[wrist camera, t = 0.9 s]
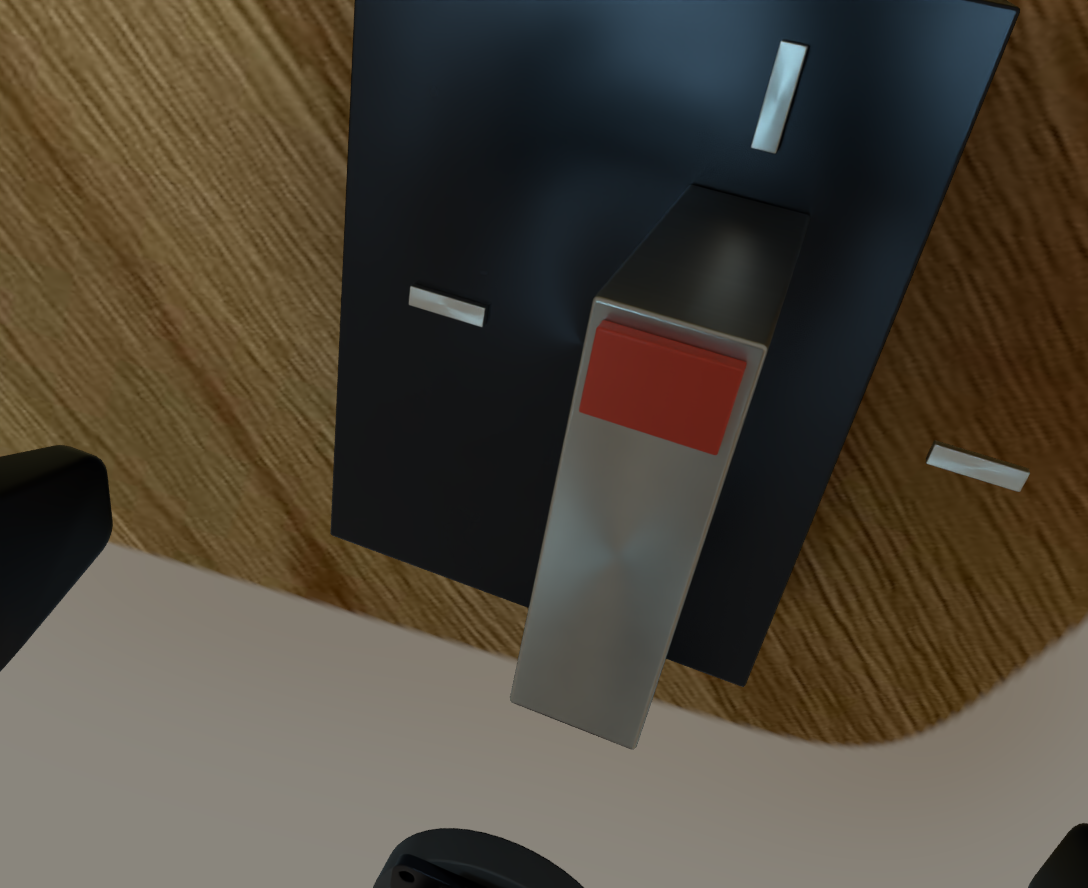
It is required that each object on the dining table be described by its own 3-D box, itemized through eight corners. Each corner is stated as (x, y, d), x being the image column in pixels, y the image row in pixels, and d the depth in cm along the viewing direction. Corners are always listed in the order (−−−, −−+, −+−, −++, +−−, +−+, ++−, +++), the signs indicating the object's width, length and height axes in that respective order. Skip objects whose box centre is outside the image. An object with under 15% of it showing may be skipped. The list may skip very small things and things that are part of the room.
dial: (703, 542, 16) (630, 766, 12) (607, 509, 16) (501, 715, 12) (811, 214, 13) (765, 356, 8) (689, 182, 13) (584, 303, 9)
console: (883, 635, 19) (880, 745, 17) (395, 466, 22) (325, 539, 19) (1188, 32, 13) (1261, 57, 10) (448, -117, 15) (354, -129, 13)
